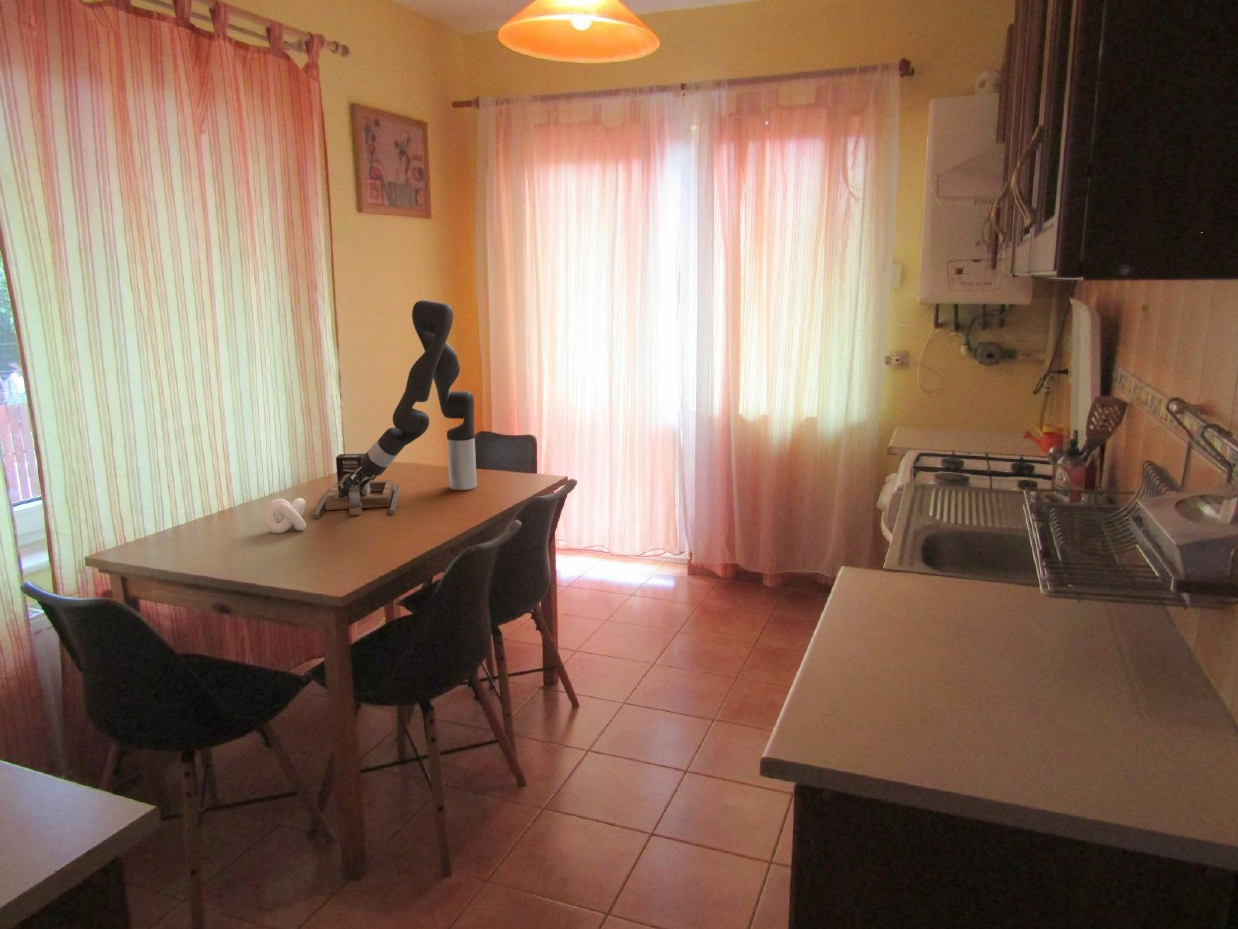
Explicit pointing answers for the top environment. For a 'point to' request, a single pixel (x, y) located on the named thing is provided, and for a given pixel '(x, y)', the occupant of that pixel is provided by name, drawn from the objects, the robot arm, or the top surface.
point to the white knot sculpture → (284, 515)
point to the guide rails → (322, 504)
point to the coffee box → (349, 471)
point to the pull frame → (360, 497)
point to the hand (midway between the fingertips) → (349, 491)
